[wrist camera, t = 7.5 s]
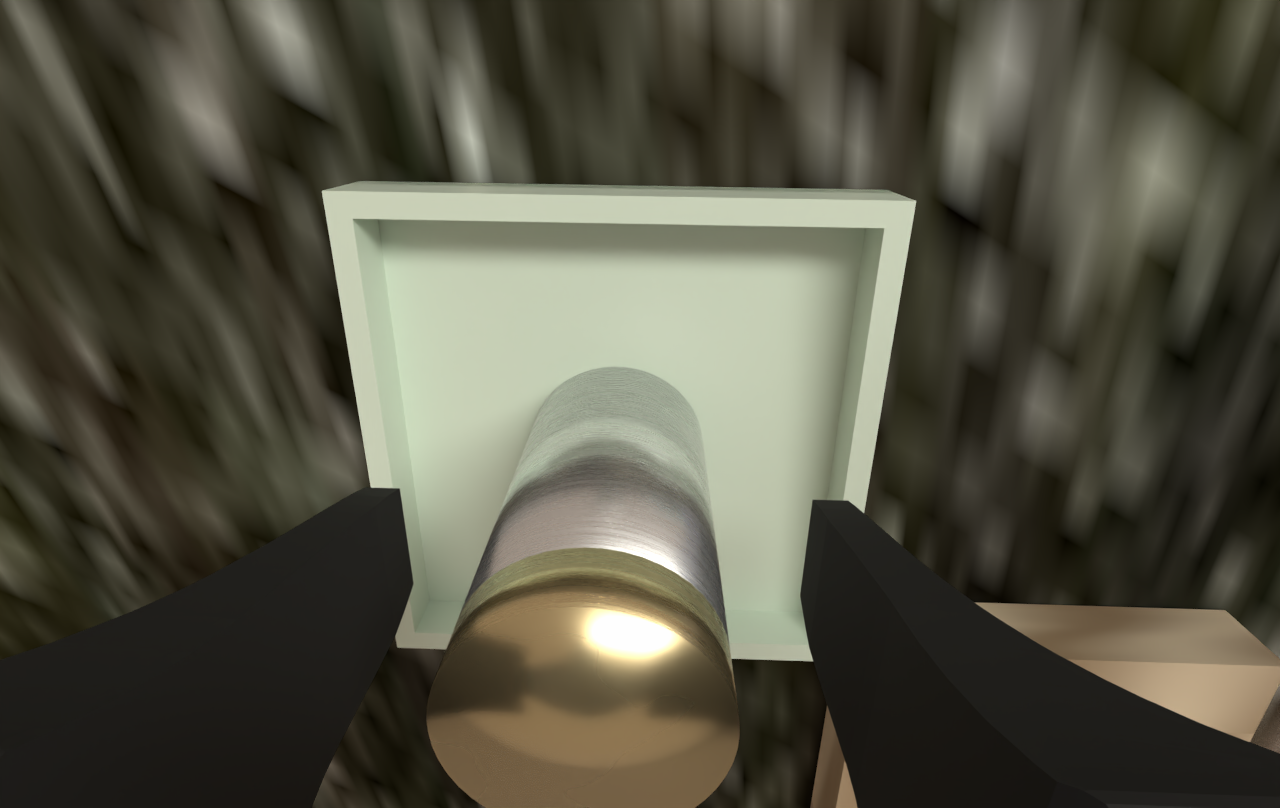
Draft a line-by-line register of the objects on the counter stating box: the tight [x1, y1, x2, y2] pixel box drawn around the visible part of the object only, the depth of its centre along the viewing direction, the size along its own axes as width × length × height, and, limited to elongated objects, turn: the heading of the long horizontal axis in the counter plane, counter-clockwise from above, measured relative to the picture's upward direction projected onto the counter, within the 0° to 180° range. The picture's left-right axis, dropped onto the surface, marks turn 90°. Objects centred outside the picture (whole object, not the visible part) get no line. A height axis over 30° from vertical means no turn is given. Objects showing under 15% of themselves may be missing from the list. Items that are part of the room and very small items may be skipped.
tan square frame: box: [810, 602, 1280, 808], centre depth 19 cm, size 10×10×2 cm
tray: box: [322, 181, 916, 661], centre depth 16 cm, size 11×11×2 cm
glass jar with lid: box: [426, 367, 740, 808], centre depth 12 cm, size 4×4×8 cm
